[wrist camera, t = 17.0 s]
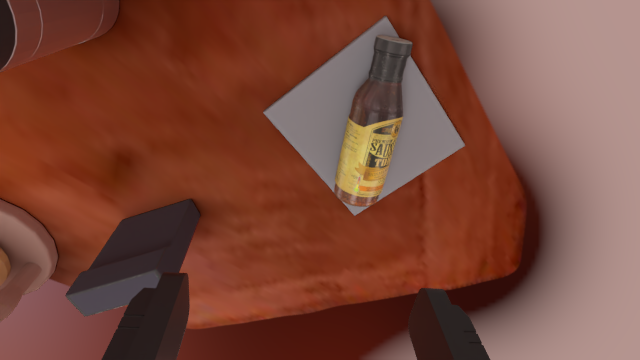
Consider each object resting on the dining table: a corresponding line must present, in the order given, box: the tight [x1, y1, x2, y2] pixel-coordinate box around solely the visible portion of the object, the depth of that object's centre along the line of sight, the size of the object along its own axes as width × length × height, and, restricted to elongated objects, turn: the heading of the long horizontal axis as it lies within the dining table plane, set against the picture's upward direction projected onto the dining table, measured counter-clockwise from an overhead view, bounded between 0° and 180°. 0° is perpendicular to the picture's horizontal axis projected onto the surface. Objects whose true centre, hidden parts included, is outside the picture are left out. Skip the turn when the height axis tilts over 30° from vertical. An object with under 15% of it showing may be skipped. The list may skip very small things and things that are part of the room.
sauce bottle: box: [334, 35, 413, 207], centre depth 45 cm, size 6×6×20 cm
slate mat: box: [264, 16, 465, 216], centre depth 48 cm, size 18×20×1 cm
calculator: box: [66, 199, 200, 316], centre depth 47 cm, size 11×4×15 cm, turn 108°
